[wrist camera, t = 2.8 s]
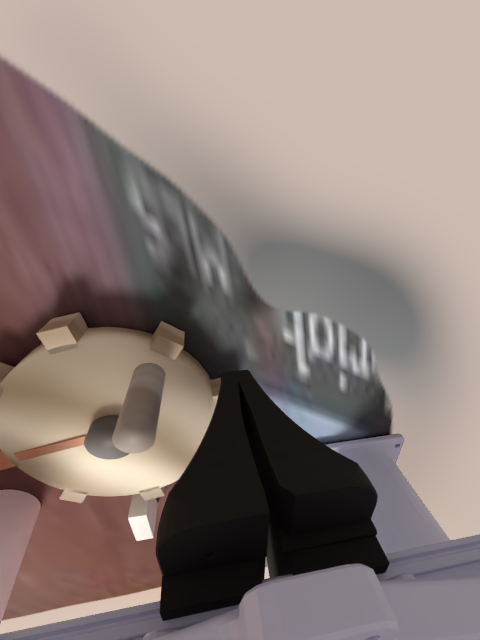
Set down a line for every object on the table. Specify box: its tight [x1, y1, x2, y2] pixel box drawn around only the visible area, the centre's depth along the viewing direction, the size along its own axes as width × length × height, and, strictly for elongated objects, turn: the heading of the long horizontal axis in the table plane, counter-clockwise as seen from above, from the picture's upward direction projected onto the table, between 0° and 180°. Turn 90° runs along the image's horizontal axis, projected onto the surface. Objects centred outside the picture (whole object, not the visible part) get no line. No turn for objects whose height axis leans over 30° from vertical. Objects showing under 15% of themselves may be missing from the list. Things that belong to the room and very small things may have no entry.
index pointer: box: [128, 493, 157, 541], centre depth 20 cm, size 3×1×2 cm, turn 1°
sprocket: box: [0, 312, 221, 503], centre depth 14 cm, size 14×14×6 cm
